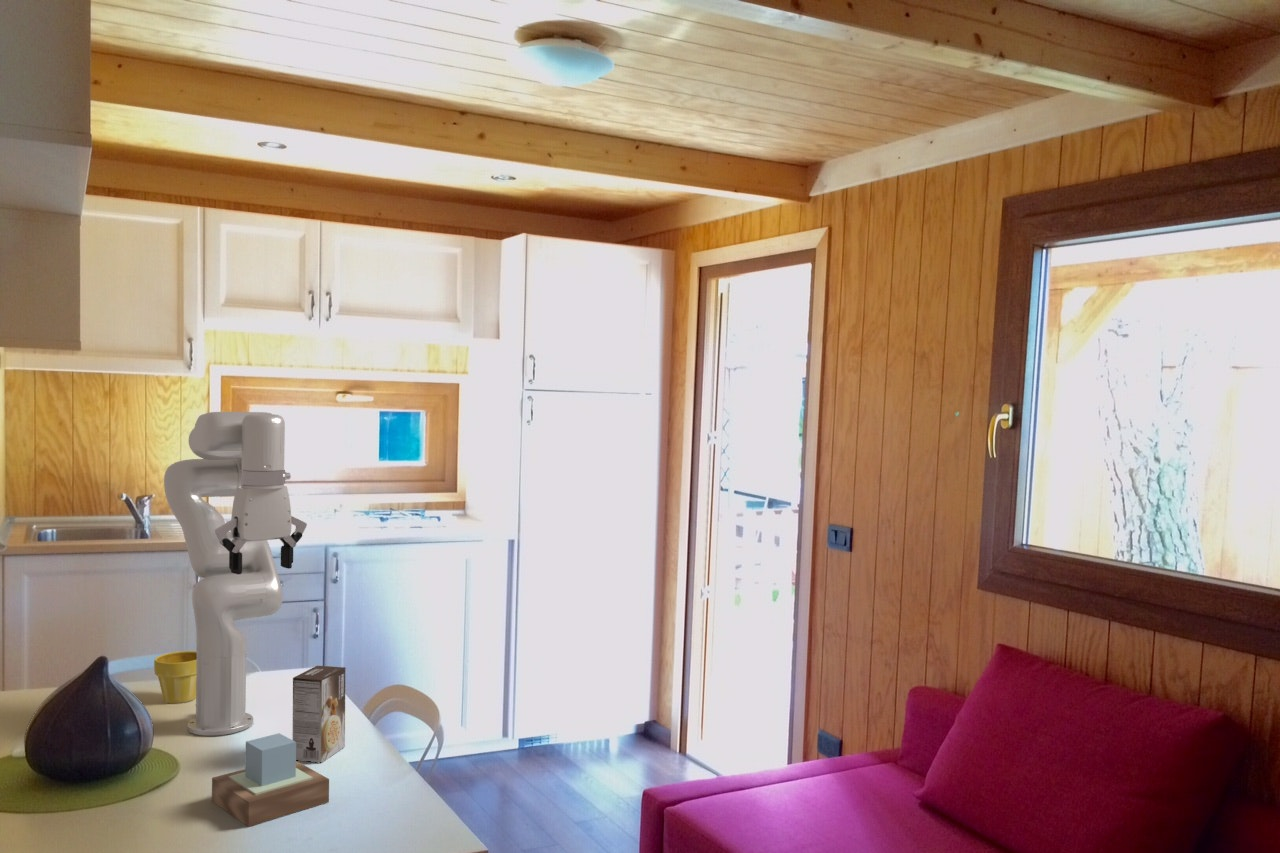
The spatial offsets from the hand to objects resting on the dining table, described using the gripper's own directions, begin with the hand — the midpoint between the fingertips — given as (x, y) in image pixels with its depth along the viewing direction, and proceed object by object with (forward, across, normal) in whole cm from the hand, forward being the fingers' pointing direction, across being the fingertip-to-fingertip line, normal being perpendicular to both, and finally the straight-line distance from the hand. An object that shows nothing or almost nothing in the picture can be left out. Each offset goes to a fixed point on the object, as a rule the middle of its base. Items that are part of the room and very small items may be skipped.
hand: (261, 570), depth 184 cm
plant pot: (+36, -4, -48) cm, 60 cm away
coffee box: (+36, -10, +4) cm, 38 cm away
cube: (+32, +7, +19) cm, 38 cm away
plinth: (+36, +7, +19) cm, 42 cm away
